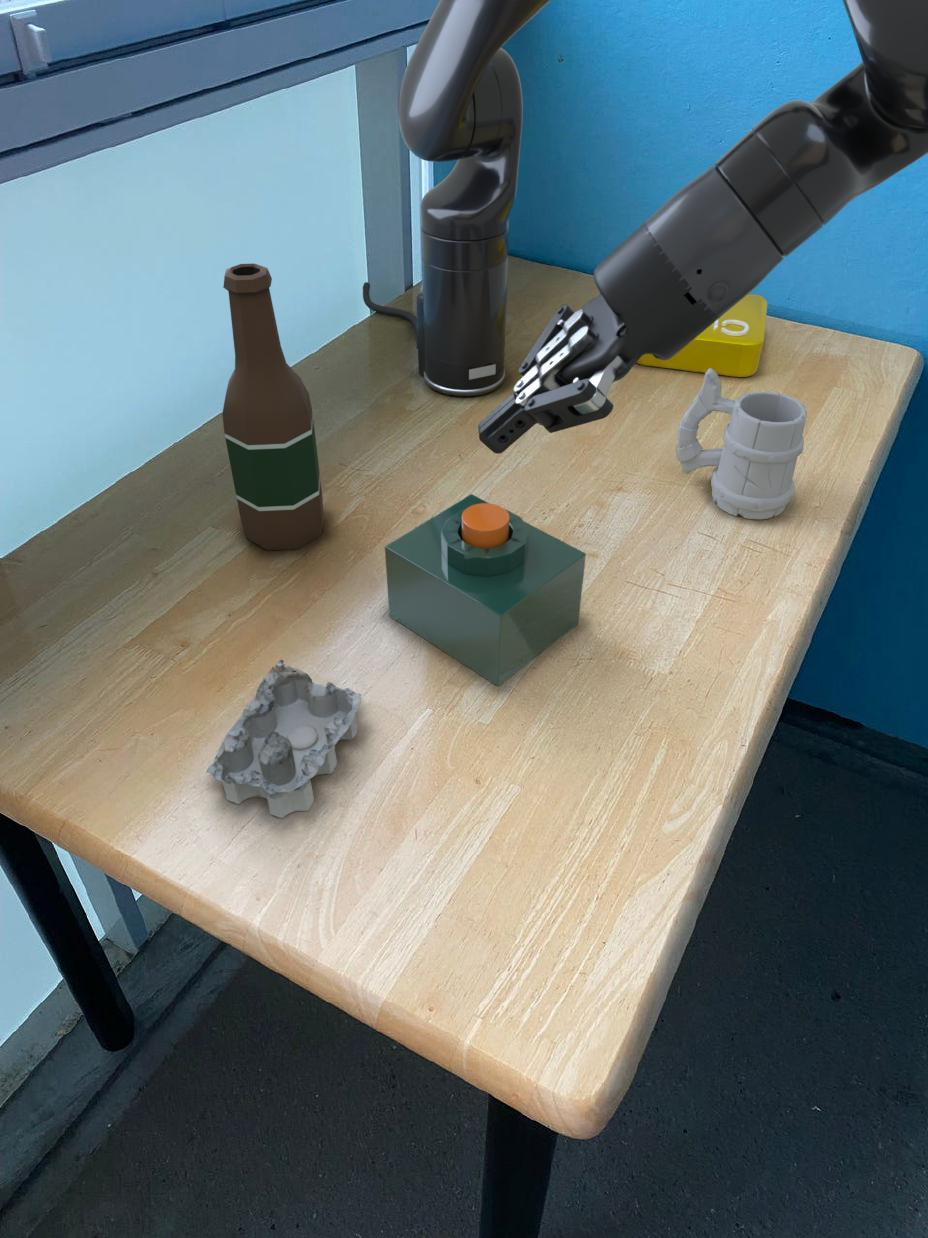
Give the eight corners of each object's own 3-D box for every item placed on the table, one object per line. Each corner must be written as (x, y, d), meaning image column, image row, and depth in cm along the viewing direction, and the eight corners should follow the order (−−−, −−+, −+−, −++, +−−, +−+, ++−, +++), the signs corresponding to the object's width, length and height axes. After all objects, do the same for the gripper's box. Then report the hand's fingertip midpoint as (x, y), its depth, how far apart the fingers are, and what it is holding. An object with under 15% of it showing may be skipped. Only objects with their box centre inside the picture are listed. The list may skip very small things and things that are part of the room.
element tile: (761, 327, 119) (769, 290, 116) (755, 380, 108) (764, 341, 105) (643, 314, 122) (648, 277, 119) (626, 364, 111) (631, 325, 108)
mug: (779, 530, 86) (811, 414, 78) (656, 497, 90) (675, 383, 82) (798, 489, 91) (830, 376, 83) (681, 459, 95) (701, 349, 87)
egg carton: (287, 692, 70) (281, 652, 68) (375, 722, 68) (371, 682, 65) (202, 794, 63) (191, 754, 60) (297, 832, 61) (289, 793, 58)
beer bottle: (258, 562, 82) (209, 297, 66) (231, 517, 87) (181, 260, 72) (340, 538, 85) (312, 277, 69) (310, 496, 90) (278, 244, 74)
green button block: (389, 616, 77) (383, 527, 71) (470, 561, 82) (471, 475, 76) (498, 687, 71) (501, 596, 65) (578, 623, 76) (588, 534, 70)
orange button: (451, 535, 71) (451, 517, 70) (483, 516, 73) (483, 497, 72) (487, 555, 69) (487, 536, 68) (518, 534, 71) (519, 515, 70)
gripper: (631, 187, 61) (446, 364, 69) (673, 263, 51) (451, 460, 59) (698, 267, 65) (515, 426, 72) (749, 353, 55) (530, 526, 62)
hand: (486, 441), depth 66 cm, fingers closed
